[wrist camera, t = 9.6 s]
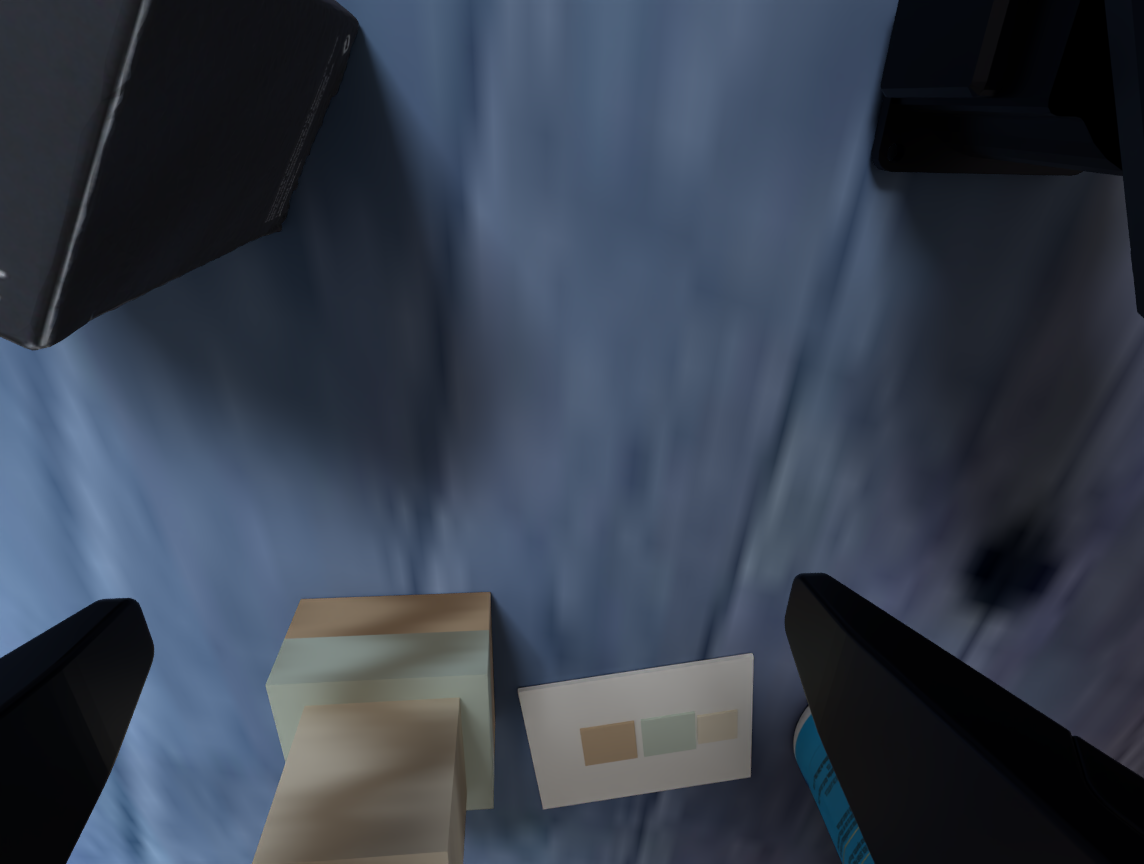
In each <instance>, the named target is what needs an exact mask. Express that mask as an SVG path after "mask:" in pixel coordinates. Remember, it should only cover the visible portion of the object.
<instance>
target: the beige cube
mask: <svg viewBox="0 0 1144 864" xmlns="http://www.w3.org/2000/svg"><path fill="white" fill-rule="evenodd" d="M466 803H467V786H466V773H465V760H464V747H463V734H462V721H461V708H460V697H459V698H440V699H422V700H403V701H385V702H367V703H348V704H330V705H311V706H304V709H303V712H302V715H301V718H300V721H299V724H298V727H297V730H296V733H295V736H294V739H293V742H292V745H291V748H290V751H289V754H288V757H287V760H286V763H285V766H284V769H283V772H282V775H281V778H280V781H279V784H278V787H277V790H276V793H275V796H274V799H273V802H272V805H271V808H270V811H269V814H268V817H267V820H266V823H265V826H264V829H263V832H262V835H261V838H260V841H259V844H258V847H257V850H256V853H255V856H254V859H253V862H252V864H463V854H464V837H465V820H466Z"/></svg>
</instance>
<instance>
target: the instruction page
mask: <svg viewBox="0 0 1144 864" xmlns="http://www.w3.org/2000/svg"><path fill="white" fill-rule="evenodd" d="M753 662H754V656H753V654H752V653H748V654H742V655H735V656H729V657H722V658H715V659H709V660H702V661H695V662H689V663H682V664H676V665H669V666H662V667H656V668H649V669H643V670H636V671H629V672H623V673H616V674H609V675H603V676H596V677H590V678H583V679H576V680H570V681H563V682H556V683H550V684H543V685H537V686H530V687H523V688H518V695H519V699H520V704H521V709H522V713H523V718H524V723H525V727H526V732H527V737H528V741H529V746H530V750H531V755H532V760H533V764H534V769H535V774H536V778H537V783H538V788H539V792H540V797H541V801H542V806H543V809H550V808H556V807H562V806H569V805H575V804H582V803H588V802H594V801H601V800H607V799H614V798H620V797H627V796H633V795H639V794H646V793H652V792H659V791H665V790H671V789H678V788H684V787H691V786H697V785H703V784H710V783H716V782H723V781H729V780H735V779H742V778H748V777H751V744H752V703H753Z"/></svg>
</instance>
